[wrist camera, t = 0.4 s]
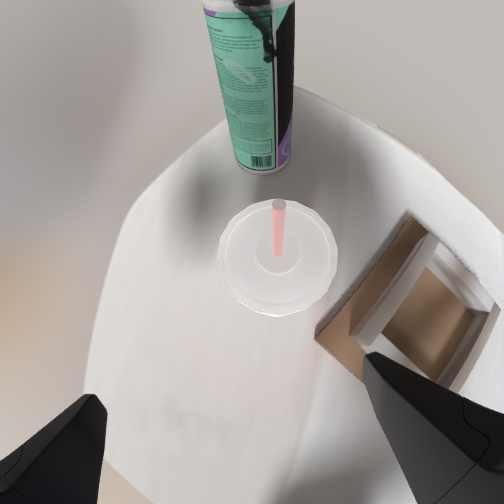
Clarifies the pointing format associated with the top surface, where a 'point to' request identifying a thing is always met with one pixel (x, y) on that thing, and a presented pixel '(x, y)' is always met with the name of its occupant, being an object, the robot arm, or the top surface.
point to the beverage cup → (277, 257)
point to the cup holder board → (415, 312)
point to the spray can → (255, 77)
